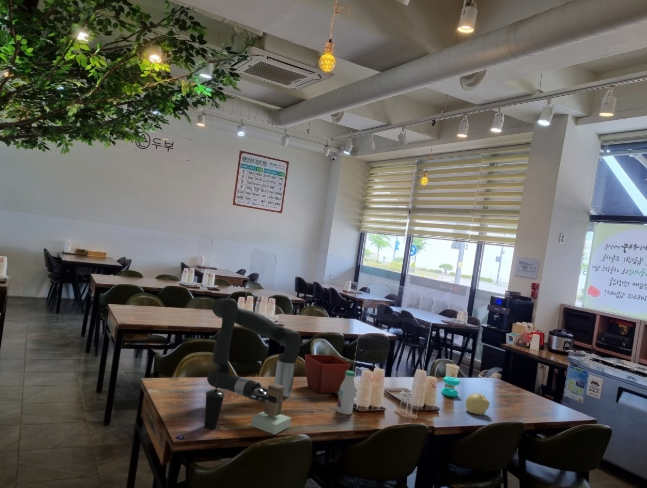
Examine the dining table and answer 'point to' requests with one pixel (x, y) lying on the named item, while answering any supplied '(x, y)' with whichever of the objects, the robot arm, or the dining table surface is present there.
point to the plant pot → (325, 372)
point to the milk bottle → (346, 394)
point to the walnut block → (277, 392)
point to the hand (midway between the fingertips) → (279, 399)
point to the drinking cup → (213, 407)
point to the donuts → (451, 382)
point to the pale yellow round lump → (477, 404)
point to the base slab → (270, 422)
